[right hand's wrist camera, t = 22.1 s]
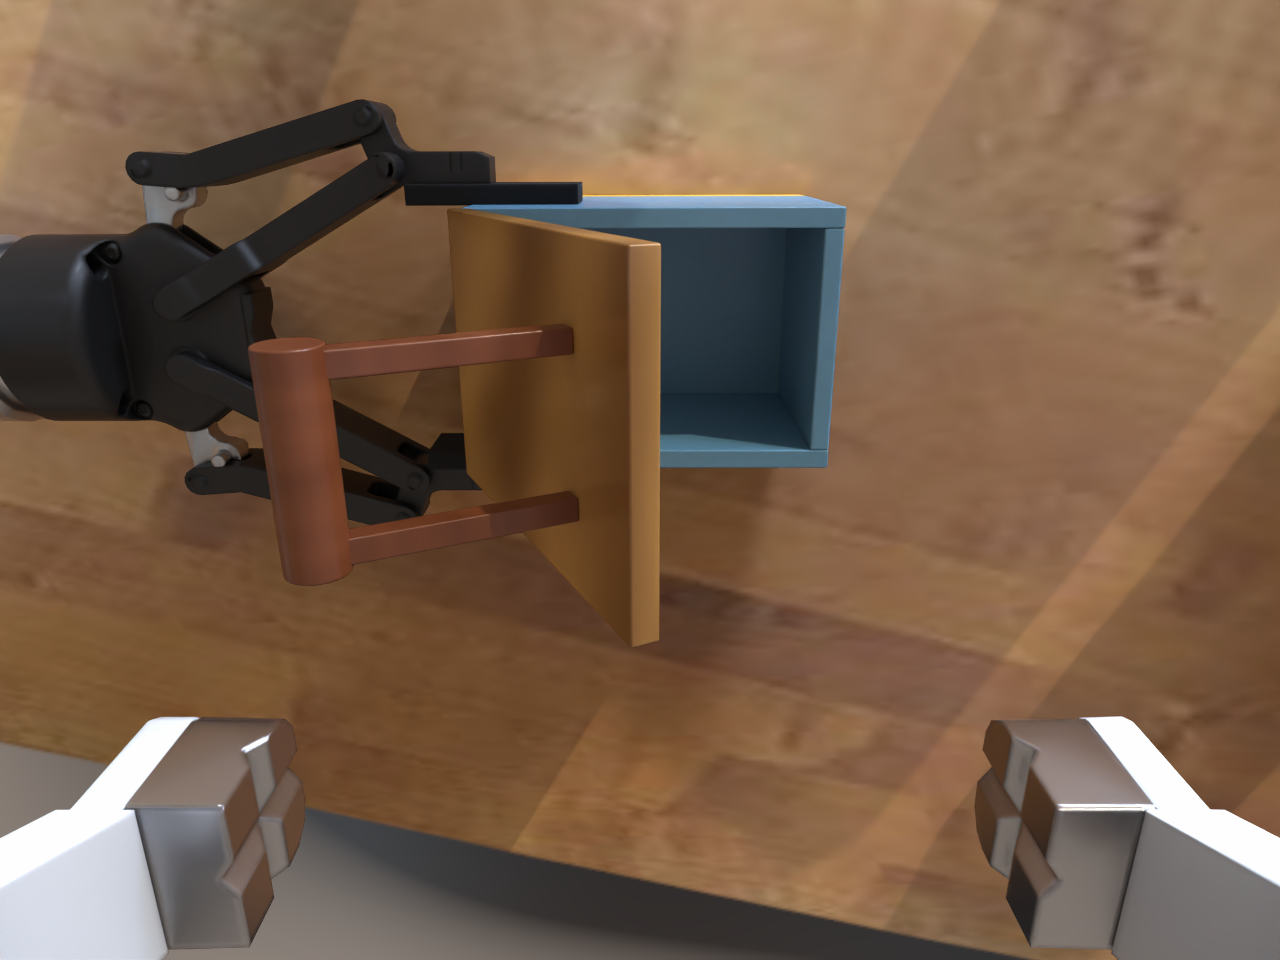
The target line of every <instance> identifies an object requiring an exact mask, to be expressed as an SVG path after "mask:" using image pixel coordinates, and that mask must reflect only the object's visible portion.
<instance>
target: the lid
mask: <svg viewBox="0 0 1280 960" xmlns="http://www.w3.org/2000/svg"><path fill="white" fill-rule="evenodd" d="M447 214H448V228H449V241H450V254H451V268H452V281H453V294H454V308H455V321H456V333H450V334H439V335H428V336H417V337H406V338H394V339H383V340H372V341H361V342H350V343H339V344H327V345H326V344H325V342H324V341H323V340H320V339H316V338H307V337H291V338H278V339H270V340H265V341H260V342H257V343H254V344H252V345H250V346H249V347H248V355H249V362H250V368H251V374H252V381H253V387H254V393H255V400H256V406H257V412H258V419H259V425H260V431H261V438H262V444H263V450H264V457H265V463H266V469H267V476H268V482H269V488H270V495H271V501H272V507H273V514H274V520H275V526H276V533H277V539H278V545H279V552H280V558H281V564H282V571H283V576H284V578H285V580H286V581H288V582H289V583H291V584H295V585H300V586H315V585H322V584H327V583H331V582H334V581H337V580H339V579H341V578H343V577H345V576H347V575H348V574H349V573H350V572H351V571H352V569H353V565H354V564H359V563H364V562H370V561H375V560H380V559H385V558H391V557H396V556H401V555H406V554H411V553H417V552H422V551H427V550H432V549H437V548H443V547H448V546H453V545H458V544H464V543H469V542H474V541H479V540H484V539H490V538H495V537H500V536H505V535H510V534H516V533H521V532H522V533H523V534H524V535H525V536H526V537H527V538H528V539H529V540H530V541H531V542H532V543H533V544H534V545H535V546H536V547H537V548H538V550H539V551H540V552H541V553H542V554H543V555H544V556H545V557H546V558H547V559H548V560H549V561H550V562H551V563H552V564H553V565H554V567H555V568H556V569H557V570H558V571H559V572H560V573H561V574H562V575H563V576H564V577H565V578H566V579H567V580H568V581H569V583H570V584H571V585H572V586H573V587H574V588H575V589H576V590H577V591H578V592H579V593H580V594H581V595H582V596H583V597H584V598H585V600H586V601H587V602H588V603H589V604H590V605H591V606H592V607H593V608H594V609H595V610H596V611H597V612H598V613H599V614H600V615H601V617H602V618H603V619H604V620H605V621H606V622H607V623H608V624H609V625H610V626H611V627H612V628H613V629H614V630H615V631H616V633H617V634H618V635H619V636H620V637H621V638H622V639H623V640H624V641H625V642H626V643H627V644H628V645H629V646H630V647H631V648H634V647H638V646H642V645H645V644H649V643H653V642H657V641H658V640H659V542H660V346H661V244H660V243H658V242H652V241H647V240H641V239H636V238H630V237H624V236H619V235H613V234H608V233H602V232H597V231H591V230H585V229H580V228H574V227H569V226H563V225H558V224H552V223H546V222H541V221H535V220H530V219H524V218H519V217H513V216H507V215H502V214H496V213H491V212H485V211H480V210H474V209H468V208H467V209H448V211H447ZM449 367H459V375H460V388H461V401H462V415H463V428H464V441H465V455H466V468H467V474H468V475H469V476H470V477H471V478H472V479H473V480H474V481H475V483H476V484H477V485H478V486H479V487H480V488H481V489H482V490H483V491H484V492H485V493H486V494H487V495H488V496H489V497H490V498H491V500H492V501H493V502H494V503H495V504H489V505H483V506H477V507H472V508H466V509H460V510H455V511H449V512H443V513H437V514H432V515H426V516H420V517H415V518H409V519H403V520H397V521H392V522H386V523H380V524H375V525H369V526H363V527H358V528H352V529H349V525H348V518H347V510H346V502H345V494H344V486H343V478H342V470H341V462H340V455H339V447H338V439H337V431H336V423H335V415H334V407H333V399H332V392H331V384H330V380H336V379H346V378H355V377H364V376H374V375H383V374H393V373H402V372H412V371H421V370H431V369H440V368H449Z"/></svg>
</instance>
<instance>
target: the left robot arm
mask: <svg viewBox="0 0 1280 960" xmlns="http://www.w3.org/2000/svg"><path fill="white" fill-rule="evenodd" d="M357 144H362V146H363V149H364V151H365V153H366V155H367V158H368V159H367V160H366V161H364V162H363V163H361V164H360V165H358V166H357V167H355V168H354V169H352V170H350V171H349V172H347V173H346V174H344V175H343V176H341V177H340V178H338V179H337V180H335V181H333V182H332V183H330V184H329V185H327V186H326V187H324V188H323V189H321V190H319V191H318V192H316V193H315V194H313V195H312V196H310V197H309V198H307V199H306V200H304V201H302V202H301V203H299V204H298V205H296V206H295V207H293V208H292V209H290V210H288V211H287V212H285V213H284V214H282V215H281V216H279V217H278V218H276V219H275V220H273V221H271V222H270V223H268V224H267V225H265V226H264V227H262V228H261V229H259V230H258V231H256V232H254V233H253V234H251V235H250V236H248V237H247V238H245V239H243V240H241V241H239V242H236V243H234V244H233V245H231V246H229V247H227V248H226V249H224V250H223V249H221V248H220V247H218V246H217V245H215V244H214V243H212V242H211V241H209V240H208V239H206V238H205V237H203V236H202V235H200V234H199V233H197V232H196V231H194V230H193V229H191V228H190V227H188V226H186V225H184V224H183V217H184V215H185V213H186V212H187V210H189V209H191V208H194V207H199V206H201V205H203V204H204V202H205V201H206V199H207V193H208V190H207V187H209V186H220V185H228V184H232V183H237V182H240V181H243V180H247V179H250V178H253V177H256V176H259V175H262V174H266V173H269V172H272V171H275V170H278V169H281V168H285V167H288V166H291V165H294V164H297V163H300V162H304V161H307V160H310V159H313V158H316V157H319V156H323V155H326V154H329V153H332V152H335V151H338V150H342V149H345V148H348V147H351V146H354V145H357ZM126 171H127V174H128V175H129V177H130V178H131V180H133V181H134V182H136V183H137V184H140V185H142V187H143V196H144V204H145V213H146V221H147V224H145V225H143V226H141V227H140V228H138V229H137V230H135V231H134V232H132V233H130V234H72V235H30V236H26V237H24V238H21V237H18V236H15V235H0V421H36V420H39V419H43V418H46V419H50V420H54V421H140V420H155V421H160V422H164V423H166V424H169V425H171V426H173V427H175V428H177V429H179V430H182V431H185V433H186V437H187V441H188V444H189V448H190V452H191V456H192V460H193V463H194V467H193V468H192V469H191V470H189V471H188V472H187V473H186V476H185V484H186V486H187V488H188V489H189V490H190V491H191V492H193V493H195V494H199V495H208V494H222V493H236V492H243V493H247V494H250V495H254V496H258V497H262V498H266V499H270V500H271V495H270V488H269V482H268V476H267V469H266V463H265V457H264V450H263V449H259V448H248V443H247V441H246V440H245V439H242V438H241V439H240V438H238V437H233V436H228V435H226V434H225V433H223V432H222V431H221V430H220V428H219V426H218V424H217V422H218V421H219V420H221V419H222V418H223V417H224V416H226V415H227V414H228V413H229V412H231V411H232V410H235V411H237V412H239V413H241V414H243V415H245V416H247V417H249V418H251V419H253V420H255V421H257V422H259V419H258V412H257V406H256V400H255V393H254V387H253V381H252V374H251V368H250V362H249V355H248V347H249V346H250V345H252V344H254V343H257V342H260V341H265V340H270V339H277V338H276V336H275V333H274V331H273V328H272V326H271V319H272V311H273V301H272V294H271V287H265V285H264V283H263V281H262V280H261V278H262V277H263V276H265V275H266V274H268V273H269V272H271V271H273V270H274V269H276V268H277V267H279V266H280V265H282V264H284V263H285V262H286V261H287V260H288V259H289V258H291V257H292V256H294V255H295V254H297V253H299V252H300V251H302V250H303V249H305V248H307V247H308V246H310V245H311V244H313V243H314V242H316V241H318V240H319V239H321V238H322V237H324V236H325V235H327V234H329V233H330V232H332V231H333V230H335V229H337V228H338V227H340V226H341V225H343V224H344V223H346V222H348V221H349V220H351V219H352V218H354V217H355V216H357V215H359V214H360V213H362V212H363V211H365V210H366V209H368V208H370V207H371V206H373V205H374V204H376V203H378V202H379V201H381V200H382V199H384V198H385V197H387V196H389V195H390V194H392V193H393V192H395V191H396V190H398V189H400V188H401V187H403V186H404V191H405V202H406V206H419V205H578V204H580V203H581V202H582V201H583V195H582V182H496V174H495V157H493V156H491V155H489V154H486V153H484V152H478V151H457V152H420V151H416V150H413V149H411V148H410V147H409V146H407V144H406V143H405V142H404V140H403V139H402V137H401V134H400V132H399V130H398V127H397V125H396V116H395V114H394V112H393V110H392V109H391V108H390V107H389V106H388V105H386V104H383V103H378V102H373V101H368V100H363V99H362V100H355V101H352V102H349V103H346V104H343V105H340V106H336V107H333V108H330V109H327V110H324V111H321V112H318V113H315V114H312V115H308V116H305V117H302V118H299V119H296V120H293V121H290V122H287V123H283V124H280V125H277V126H274V127H271V128H268V129H265V130H262V131H259V132H255V133H252V134H249V135H246V136H243V137H240V138H237V139H234V140H230V141H227V142H224V143H221V144H218V145H215V146H212V147H209V148H205V149H202V150H199V151H196V152H193V153H181V152H134V153H132V154H131V155H129V156H128V158H127V160H126ZM333 407H334V415H335V423H336V431H337V439H338V447H339V455H340V458H342V459H344V460H346V461H348V462H350V463H352V464H354V465H356V466H358V467H360V468H362V469H364V470H366V471H368V472H370V473H372V474H374V475H376V476H378V477H375V476H372V475H368V474H364V473H360V472H356V471H352V470H348V469H344V468H341V470H342V478H343V486H344V494H345V502H346V510H347V518H348V519H349V520H353V521H357V522H361V523H365V524H369V525H375V524H380V523H386V522H392V521H397V520H403V519H409V518H415V517H420V516H423V515H424V513H425V511H426V510H427V508H428V506H429V504H430V497H431V494H432V493H433V492H435V491H438V490H482V489H481V488H480V487H479V486H478V485H477V484H476V483H475V481H474V480H473V479H472V478H471V477H470V476H469V475H468V474H467V468H466V455H465V441H464V433H441V435H440V436H439V438H438V439H437V440H436V442H435V443H434V445H433V446H432V447H431V449H429V448H427V447H425V446H423V445H421V444H419V443H417V442H415V441H413V440H411V439H409V438H407V437H405V436H403V435H401V434H400V433H398V432H396V431H394V430H392V429H390V428H388V427H386V426H384V425H382V424H380V423H378V422H376V421H374V420H372V419H370V418H368V417H366V416H364V415H363V414H361V413H359V412H357V411H355V410H353V409H351V408H349V407H347V406H345V405H343V404H341V403H339V402H337V401H335V400H333ZM379 477H380V478H379Z"/></svg>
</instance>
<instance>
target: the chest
mask: <svg viewBox="0 0 1280 960" xmlns="http://www.w3.org/2000/svg"><path fill="white" fill-rule="evenodd" d="M467 208H468V209H474V210H480V211H485V212H491V213H496V214H502V215H507V216H513V217H519V218H524V219H530V220H535V221H541V222H546V223H552V224H558V225H563V226H569V227H574V228H580V229H585V230H591V231H597V232H602V233H608V234H613V235H619V236H624V237H630V238H636V239H641V240H647V241H652V242H658V243H660V244H661V346H660V468H826V467H827V464H828V447H829V434H830V420H831V407H832V393H833V380H834V367H835V353H836V340H837V326H838V313H839V299H840V286H841V272H842V259H843V245H844V232H845V230H844V227H845V221H846V207H844V206H841V205H837V204H833V203H829V202H826V201H822V200H818V199H814V198H811V197H807V196H805V195H583V201H582V202H581V203H580V204H578V205H470V206H467V207H463V208H461V209H467Z"/></svg>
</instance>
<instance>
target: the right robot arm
mask: <svg viewBox="0 0 1280 960" xmlns="http://www.w3.org/2000/svg"><path fill="white" fill-rule="evenodd" d="M296 751H297V745H296V740H295V735H294V730H293V726H292V725H291V724H290V723H289V722H288V721H287V720H286V719H264V718H218V717H202V718H197V717H159V718H156V719H153V720H149V721H148V722H147V723H146V724H145V725H144V726H143V727H142V728H141V729H140V731H139V732H138V733H137V734H136V735H135V736H134V737H133V738H132V740H131V741H130V742H129V743H128V744H127V745H126V746H125V748H124V749H123V750H122V751H121V752H120V753H119V754H118V756H117V757H116V758H115V759H114V760H113V761H112V762H111V763H110V765H109V766H108V767H107V768H106V769H105V770H104V772H103V773H102V774H101V775H100V776H99V777H98V778H97V779H96V781H95V782H94V783H93V784H92V785H91V786H90V787H89V789H88V790H87V791H86V792H85V793H84V794H83V795H82V796H81V798H80V799H79V800H78V801H77V802H76V803H75V805H74V806H73V807H72V808H71V809H70V810H54V811H52V812H50V813H49V814H47V815H45V816H43V817H41V818H39V819H37V820H35V821H33V822H31V823H29V824H27V825H25V826H23V827H21V828H19V829H17V830H15V831H13V832H11V833H9V834H7V835H6V836H4V837H2V838H0V960H162V959H163V958H164V957H166V956H167V955H168V950H171V949H206V948H240V947H250V945H251V943H252V941H253V939H254V937H255V935H256V933H257V931H258V929H259V927H260V925H261V923H262V921H263V919H264V917H265V915H266V913H267V911H268V909H269V907H270V905H271V903H272V901H273V899H274V894H273V888H272V882H271V879H273V878H274V877H275V876H277V875H278V874H279V873H281V872H282V871H284V870H285V869H286V868H288V867H289V866H290V864H291V862H292V860H293V858H294V856H295V854H296V851H297V849H298V847H299V844H300V839H301V835H302V830H303V826H304V821H305V796H304V789H303V782H302V781H301V780H300V779H299V778H298V777H297V776H296V775H295V774H294V773H293V772H292V771H291V770H290V769H289V768H288V766H289V764H290V762H291V760H292V759H293V757H294V755H295V753H296ZM983 751H984V753H985V755H986V757H987V759H988V760H989V762H990V764H991V766H992V768H991V769H990V770H989V771H988V772H987V773H986V774H985V775H984V776H983V777H982V778H981V779H980V780H979V781H978V782H977V790H976V799H975V816H976V827H977V833H978V836H979V840H980V843H981V846H982V849H983V852H984V854H985V856H986V858H987V860H988V862H989V864H990V866H991V867H992V868H994V869H995V870H996V871H998V872H999V873H1001V874H1002V875H1003V876H1005V877H1006V878H1007V879H1009V882H1008V888H1007V894H1006V899H1007V901H1008V903H1009V905H1010V907H1011V909H1012V911H1013V913H1014V915H1015V917H1016V919H1017V921H1018V923H1019V925H1020V927H1021V929H1022V931H1023V933H1024V935H1025V937H1026V939H1027V941H1028V943H1029V945H1030V947H1038V948H1073V949H1108V950H1112V952H1111V954H1113V955H1114V956H1115V957H1116V958H1117V959H1118V960H1280V838H1278V837H1276V836H1274V835H1272V834H1270V833H1269V832H1267V831H1265V830H1263V829H1261V828H1259V827H1257V826H1255V825H1253V824H1251V823H1249V822H1247V821H1245V820H1243V819H1241V818H1239V817H1237V816H1235V815H1233V814H1231V813H1230V812H1228V811H1226V810H1210V809H1209V808H1208V807H1207V806H1206V804H1205V803H1204V802H1203V801H1202V800H1201V799H1200V798H1199V796H1198V795H1197V794H1196V793H1195V792H1194V791H1193V790H1192V789H1191V787H1190V786H1189V785H1188V784H1187V783H1186V782H1185V781H1184V779H1183V778H1182V777H1181V776H1180V775H1179V774H1178V773H1177V771H1176V770H1175V769H1174V768H1173V767H1172V766H1171V765H1170V764H1169V762H1168V761H1167V760H1166V759H1165V758H1164V757H1163V756H1162V754H1161V753H1160V752H1159V751H1158V750H1157V749H1156V748H1155V746H1154V745H1153V744H1152V743H1151V742H1150V741H1149V740H1148V739H1147V737H1146V736H1145V735H1144V734H1143V733H1142V732H1141V731H1140V729H1139V728H1138V727H1137V726H1136V725H1135V724H1134V723H1133V722H1132V721H1130V720H1128V719H1126V718H1124V717H1122V716H1120V717H1088V718H1078V719H1031V720H991V722H990V724H989V726H988V728H987V730H986V733H985V739H984V745H983Z"/></svg>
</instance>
